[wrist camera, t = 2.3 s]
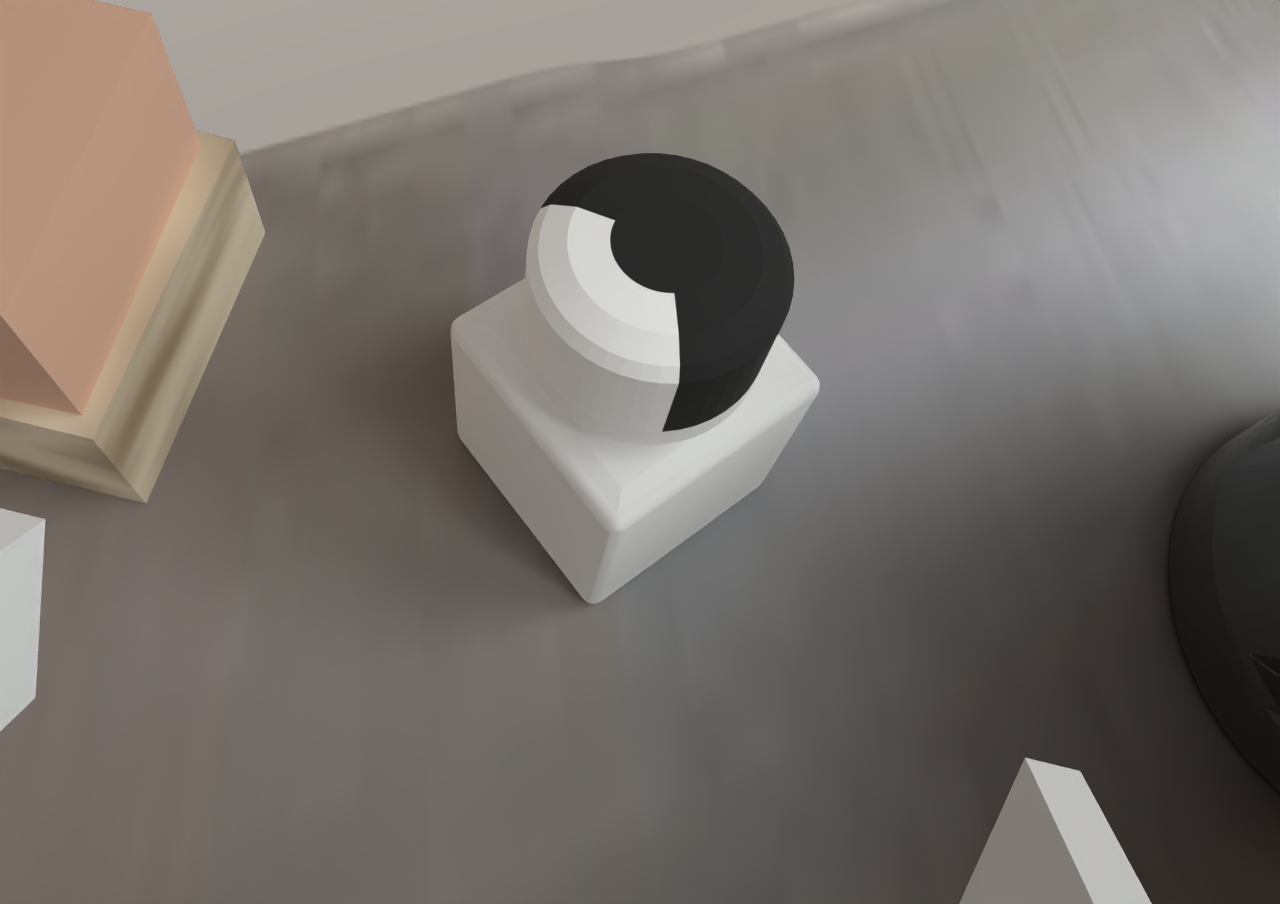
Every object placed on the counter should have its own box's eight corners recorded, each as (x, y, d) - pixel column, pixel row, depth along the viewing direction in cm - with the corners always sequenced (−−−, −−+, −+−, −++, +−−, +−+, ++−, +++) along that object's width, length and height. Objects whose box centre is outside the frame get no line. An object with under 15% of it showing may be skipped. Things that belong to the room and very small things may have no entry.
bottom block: (267, 238, 36) (234, 140, 32) (149, 507, 32) (92, 439, 27) (-26, 164, 36) (-102, 55, 31) (-184, 426, 32) (-297, 344, 27)
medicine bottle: (629, 323, 36) (689, 66, 25) (765, 483, 35) (892, 282, 24) (453, 433, 34) (434, 203, 23) (589, 612, 32) (640, 454, 21)
